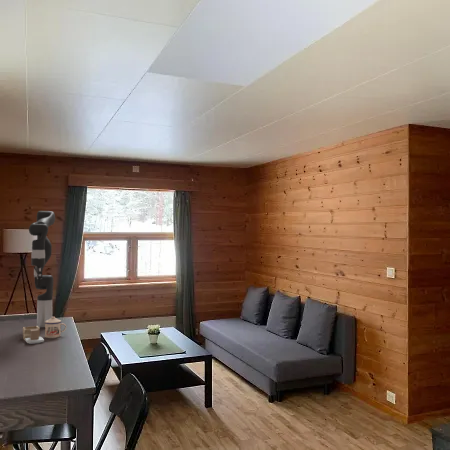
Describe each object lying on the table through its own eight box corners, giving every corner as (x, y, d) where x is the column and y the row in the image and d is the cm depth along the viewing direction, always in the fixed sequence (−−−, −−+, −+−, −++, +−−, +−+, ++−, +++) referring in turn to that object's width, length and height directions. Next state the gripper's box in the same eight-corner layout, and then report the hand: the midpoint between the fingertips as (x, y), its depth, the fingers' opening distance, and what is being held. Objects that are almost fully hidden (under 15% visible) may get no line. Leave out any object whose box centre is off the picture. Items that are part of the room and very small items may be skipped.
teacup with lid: (44, 338, 268) (44, 318, 268) (44, 335, 277) (44, 315, 277) (66, 337, 273) (66, 317, 273) (65, 334, 281) (66, 314, 281)
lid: (24, 341, 261) (25, 329, 261) (41, 340, 265) (41, 327, 265) (27, 345, 253) (27, 332, 254) (43, 343, 258) (44, 330, 258)
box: (22, 337, 271) (22, 327, 271) (37, 336, 275) (37, 325, 275) (24, 340, 264) (24, 329, 264) (39, 338, 268) (39, 328, 268)
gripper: (29, 257, 281) (29, 284, 281) (33, 258, 269) (32, 286, 268) (42, 256, 285) (42, 283, 285) (47, 257, 273) (46, 285, 272)
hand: (37, 284), depth 277 cm, fingers open, 8 cm apart
